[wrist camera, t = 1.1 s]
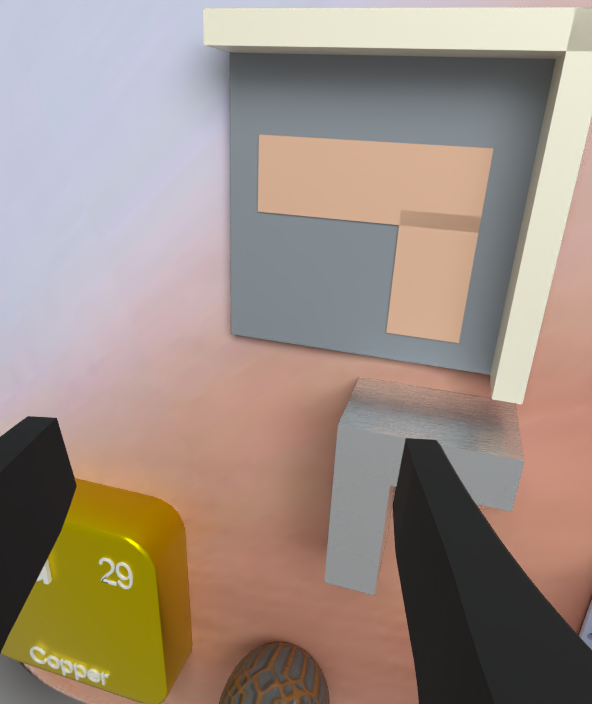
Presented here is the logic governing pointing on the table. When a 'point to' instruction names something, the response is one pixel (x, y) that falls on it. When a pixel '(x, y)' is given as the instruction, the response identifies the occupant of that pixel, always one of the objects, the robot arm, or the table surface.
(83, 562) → the element tile
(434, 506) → the robot arm
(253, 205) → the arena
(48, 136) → the table surface
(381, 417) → the bracket
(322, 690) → the vase
